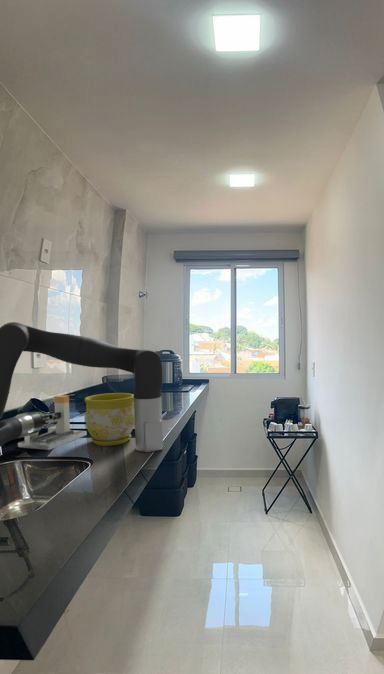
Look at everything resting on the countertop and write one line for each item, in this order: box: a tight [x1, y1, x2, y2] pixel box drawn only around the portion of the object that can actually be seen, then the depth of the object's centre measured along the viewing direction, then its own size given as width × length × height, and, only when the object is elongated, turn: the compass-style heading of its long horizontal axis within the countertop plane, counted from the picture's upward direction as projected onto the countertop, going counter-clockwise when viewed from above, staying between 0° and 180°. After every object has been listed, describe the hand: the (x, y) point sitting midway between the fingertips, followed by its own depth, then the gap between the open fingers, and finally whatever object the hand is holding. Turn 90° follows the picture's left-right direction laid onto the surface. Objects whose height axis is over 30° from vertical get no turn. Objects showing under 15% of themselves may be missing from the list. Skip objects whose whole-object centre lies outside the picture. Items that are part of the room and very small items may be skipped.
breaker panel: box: [17, 425, 88, 451], centre depth 148 cm, size 14×21×4 cm, turn 158°
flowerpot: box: [84, 392, 135, 447], centre depth 144 cm, size 18×18×16 cm
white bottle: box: [53, 394, 71, 434], centre depth 152 cm, size 5×3×14 cm
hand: (59, 415), depth 151 cm, fingers closed
